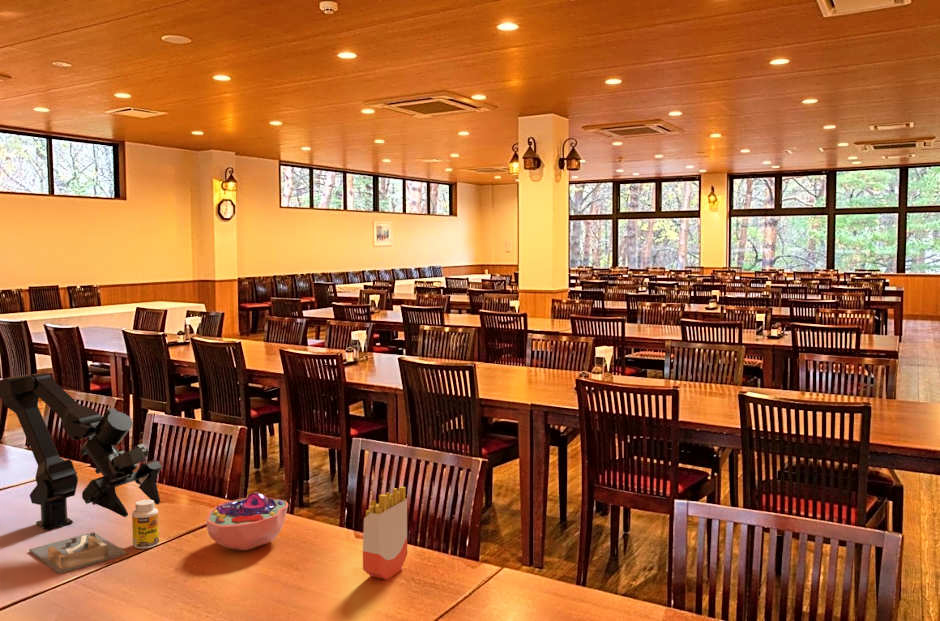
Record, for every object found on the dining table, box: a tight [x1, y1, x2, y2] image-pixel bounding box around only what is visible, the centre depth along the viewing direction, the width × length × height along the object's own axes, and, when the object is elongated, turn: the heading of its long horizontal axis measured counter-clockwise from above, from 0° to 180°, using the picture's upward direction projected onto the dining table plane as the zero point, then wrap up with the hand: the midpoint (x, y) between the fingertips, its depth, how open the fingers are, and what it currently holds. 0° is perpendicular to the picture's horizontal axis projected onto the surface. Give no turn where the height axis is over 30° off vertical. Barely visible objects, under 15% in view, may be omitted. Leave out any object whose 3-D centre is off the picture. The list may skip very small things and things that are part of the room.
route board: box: [28, 531, 127, 575], centre depth 175 cm, size 18×14×2 cm
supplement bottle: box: [131, 498, 160, 550], centre depth 179 cm, size 6×6×10 cm
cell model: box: [206, 491, 289, 551], centre depth 179 cm, size 17×20×11 cm
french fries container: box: [362, 486, 408, 581], centre depth 164 cm, size 5×11×18 cm, turn 154°
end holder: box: [48, 536, 109, 570], centre depth 171 cm, size 8×10×2 cm
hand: (143, 509), depth 179 cm, fingers open, 9 cm apart
